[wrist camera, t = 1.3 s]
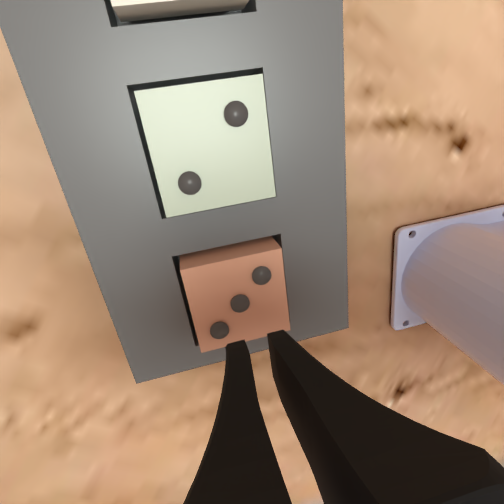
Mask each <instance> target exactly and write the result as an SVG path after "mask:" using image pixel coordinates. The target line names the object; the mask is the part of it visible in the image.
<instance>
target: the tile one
mask: <svg viewBox="0 0 504 504" xmlns="http://www.w3.org/2000/svg"><path fill="white" fill-rule="evenodd" d="M248 1H249V0H111V4H112V7H113V9H114V11H115V13H116V14H117V16H118V18H119V20H120V21H121V22H127V21H137V20H146V19H156V18H165V17H175V16H184V15H194V14H203V13H213V12H222V11H232V10H241V9H244V8H245V6H246V4H247V3H248Z"/></svg>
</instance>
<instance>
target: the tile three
mask: <svg viewBox="0 0 504 504" xmlns="http://www.w3.org/2000/svg"><path fill="white" fill-rule="evenodd" d="M180 272H181V276H182V280H183V284H184V288H185V292H186V295H187V299H188V303H189V307H190V311H191V315H192V319H193V323H194V327H195V330H196V334H197V338H198V342H199V346H200V350H201V353H203V352H207V351H211V350H215V349H219V348H223V347H226V345H227V344H228V343H232V342H236V341H240V340H245V342H246V341H250V340H254V339H258V338H262V337H265V336H267V333H271V332H275V331H279V330H285V331H289V330H290V321H289V312H288V303H287V294H286V284H285V275H284V266H283V257H282V248H281V247H280V246H279V244H278V243H277V242H276V241H275V240H274V238H273V237H272V236H267V237H262V238H258V239H253V240H248V241H243V242H239V243H234V244H229V245H225V246H220V247H215V248H210V249H206V250H201V251H196V252H191V253H187V254H182V255H180Z"/></svg>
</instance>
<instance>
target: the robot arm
mask: <svg viewBox="0 0 504 504" xmlns="http://www.w3.org/2000/svg"><path fill="white" fill-rule="evenodd" d="M411 231H412V233H411V235H409V233H410V232H411ZM404 321H405V322H404ZM403 322H404V323H403ZM424 323H428V324H429V325H430V326H432V327H433V328H434V329H435V330H436V331H438V332H439V333H440V334H441V335H443V336H444V337H445V338H446V339H448V340H449V341H450V342H451V343H452V344H454V345H455V346H456V347H457V348H459V349H460V350H461V351H462V352H464V353H465V354H466V355H467V356H469V357H470V358H471V359H472V360H473V361H475V362H476V363H477V364H478V365H480V366H481V367H482V368H483V369H485V370H486V371H487V372H488V373H489V374H491V375H492V376H493V377H494V378H496V379H497V380H498V381H499V382H501V383H502V384H503V385H504V205H500V206H495V207H491V208H486V209H481V210H477V211H472V212H468V213H463V214H459V215H454V216H450V217H445V218H441V219H436V220H432V221H427V222H423V223H418V224H413V225H409V226H404V227H401V228H399V229H398V230H397V231H396V233H395V244H394V265H393V286H392V307H391V326H392V328H394V329H395V330H402V329H405V328H409V327H413V326H416V325H420V324H424ZM267 338H268V345H269V352H270V359H271V366H272V372H273V378H274V381H275V384H276V387H277V390H278V393H279V396H280V399H281V402H282V404H283V407H284V409H285V411H286V413H287V416H288V418H289V420H290V422H291V424H292V427H293V429H294V431H295V433H296V436H297V438H298V440H299V442H300V444H301V447H302V449H303V451H304V453H305V455H306V458H307V460H308V462H309V464H310V467H311V469H312V472H313V474H314V477H315V479H316V482H317V485H318V488H319V491H320V494H321V496H322V499H323V502H324V504H504V468H503V466H502V465H501V464H500V463H498V462H497V461H496V460H495V459H494V458H493V457H492V456H491V455H490V454H489V453H488V452H487V451H486V450H485V449H483V448H480V447H477V446H475V445H472V444H469V443H467V442H464V441H461V440H459V439H456V438H453V437H451V436H448V435H445V434H443V433H440V432H438V431H436V430H433V429H431V428H429V427H427V426H424V425H422V424H420V423H417V422H415V421H413V420H411V419H409V418H407V417H405V416H403V415H401V414H399V413H397V412H395V411H393V410H391V409H389V408H387V407H385V406H384V405H382V404H380V403H378V402H377V401H375V400H373V399H371V398H370V397H368V396H366V395H365V394H363V393H362V392H360V391H358V390H357V389H355V388H354V387H352V386H351V385H349V384H348V383H346V382H345V381H344V380H342V379H341V378H339V377H338V376H337V375H335V374H334V373H333V372H331V371H330V370H329V369H327V368H326V367H325V366H324V365H322V364H321V363H320V362H319V361H318V360H316V359H315V358H314V357H313V356H312V355H310V354H309V353H308V352H307V351H306V350H305V349H304V348H303V347H302V346H300V345H299V344H298V343H297V342H296V341H295V340H294V339H293V338H292V337H291V336H290V335H289V334H288V333H287V332H286V331H285V330H279V331H275V332H271V333H267ZM225 349H226V366H225V375H224V381H223V388H222V393H221V398H220V402H219V406H218V411H217V415H216V419H215V422H214V426H213V429H212V432H211V435H210V439H209V442H208V445H207V447H206V450H205V453H204V456H203V458H202V461H201V464H200V466H199V469H198V471H197V474H196V476H195V479H194V481H193V483H192V485H191V488H190V490H189V492H188V494H187V497H186V499H185V501H184V503H183V504H292V503H291V500H290V497H289V494H288V491H287V489H286V486H285V483H284V480H283V477H282V474H281V471H280V468H279V465H278V462H277V459H276V456H275V453H274V450H273V447H272V444H271V441H270V438H269V435H268V432H267V429H266V426H265V422H264V419H263V416H262V413H261V410H260V406H259V402H258V398H257V392H256V387H255V381H254V376H253V370H252V364H251V359H250V353H249V350H248V347H247V345H246V342H245V340H240V341H236V342H232V343H228V344H227V345H226V347H225Z"/></svg>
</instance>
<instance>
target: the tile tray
mask: <svg viewBox="0 0 504 504" xmlns="http://www.w3.org/2000/svg"><path fill="white" fill-rule="evenodd" d="M0 27H1V30H2V33H3V35H4V38H5V41H6V43H7V46H8V48H9V51H10V54H11V56H12V59H13V61H14V64H15V67H16V69H17V72H18V75H19V77H20V80H21V82H22V85H23V88H24V90H25V93H26V96H27V98H28V101H29V103H30V106H31V109H32V111H33V114H34V117H35V119H36V122H37V124H38V127H39V130H40V132H41V135H42V138H43V140H44V143H45V145H46V148H47V151H48V153H49V156H50V158H51V161H52V164H53V166H54V169H55V172H56V174H57V177H58V179H59V182H60V185H61V187H62V190H63V193H64V195H65V198H66V200H67V203H68V206H69V208H70V211H71V214H72V216H73V219H74V221H75V224H76V227H77V229H78V232H79V234H80V237H81V240H82V242H83V245H84V248H85V250H86V253H87V255H88V258H89V261H90V263H91V266H92V269H93V271H94V274H95V276H96V279H97V282H98V284H99V287H100V290H101V292H102V295H103V297H104V300H105V303H106V305H107V308H108V310H109V313H110V316H111V318H112V321H113V324H114V326H115V329H116V331H117V334H118V337H119V339H120V342H121V345H122V347H123V350H124V352H125V355H126V358H127V360H128V363H129V366H130V368H131V371H132V373H133V376H134V379H135V381H136V384H137V383H141V382H145V381H149V380H152V379H156V378H160V377H164V376H168V375H171V374H175V373H179V372H183V371H187V370H190V369H194V368H198V367H202V366H206V365H209V364H213V363H217V362H221V361H225V360H226V349H225V347H223V348H219V349H215V350H211V351H207V352H203V353H201V350H200V346H199V342H198V338H197V334H196V330H195V327H194V323H193V319H192V315H191V311H190V307H189V303H188V299H187V295H186V292H185V288H184V284H183V280H182V276H181V272H180V255H182V254H187V253H191V252H196V251H201V250H206V249H210V248H215V247H220V246H225V245H229V244H234V243H239V242H243V241H248V240H253V239H258V238H262V237H267V236H272V237H273V238H274V240H275V241H276V242H277V243H278V244H279V246H280V247H281V248H282V257H283V266H284V275H285V284H286V294H287V303H288V312H289V321H290V330H289V331H286V332H287V333H288V334H289V335H290V336H291V337H292V338H293V339H294V340H295V341H296V342H297V341H301V340H304V339H308V338H312V337H316V336H320V335H323V334H327V333H331V332H335V331H339V330H342V329H346V328H348V275H347V219H346V164H345V108H344V52H343V0H249V1H248V3H247V4H246V6H245V8H244V9H241V10H232V11H222V12H213V13H203V14H194V15H184V16H175V17H165V18H156V19H146V20H137V21H127V22H121V21H120V20H119V18H118V16H117V14H116V13H115V11H114V9H113V7H112V4H111V0H0ZM257 74H263V82H264V91H265V100H266V110H267V119H268V128H269V137H270V146H271V156H272V165H273V174H274V183H275V192H276V197H271V198H266V199H261V200H256V201H251V202H245V203H240V204H235V205H230V206H225V207H220V208H214V209H209V210H204V211H199V212H194V213H189V214H183V215H178V216H173V217H168V218H166V214H165V210H164V206H163V202H162V198H161V194H160V191H159V187H158V183H157V179H156V175H155V171H154V167H153V163H152V160H151V156H150V152H149V148H148V144H147V140H146V136H145V132H144V128H143V125H142V121H141V117H140V113H139V109H138V105H137V101H136V97H135V93H134V91H139V90H146V89H154V88H161V87H168V86H176V85H183V84H191V83H198V82H205V81H213V80H220V79H227V78H235V77H242V76H249V75H257ZM246 345H247V347H248V350H249V353H250V354H251V353H255V352H259V351H263V350H266V349H269V345H268V338H267V336H265V337H262V338H258V339H254V340H250V341H246Z"/></svg>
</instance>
